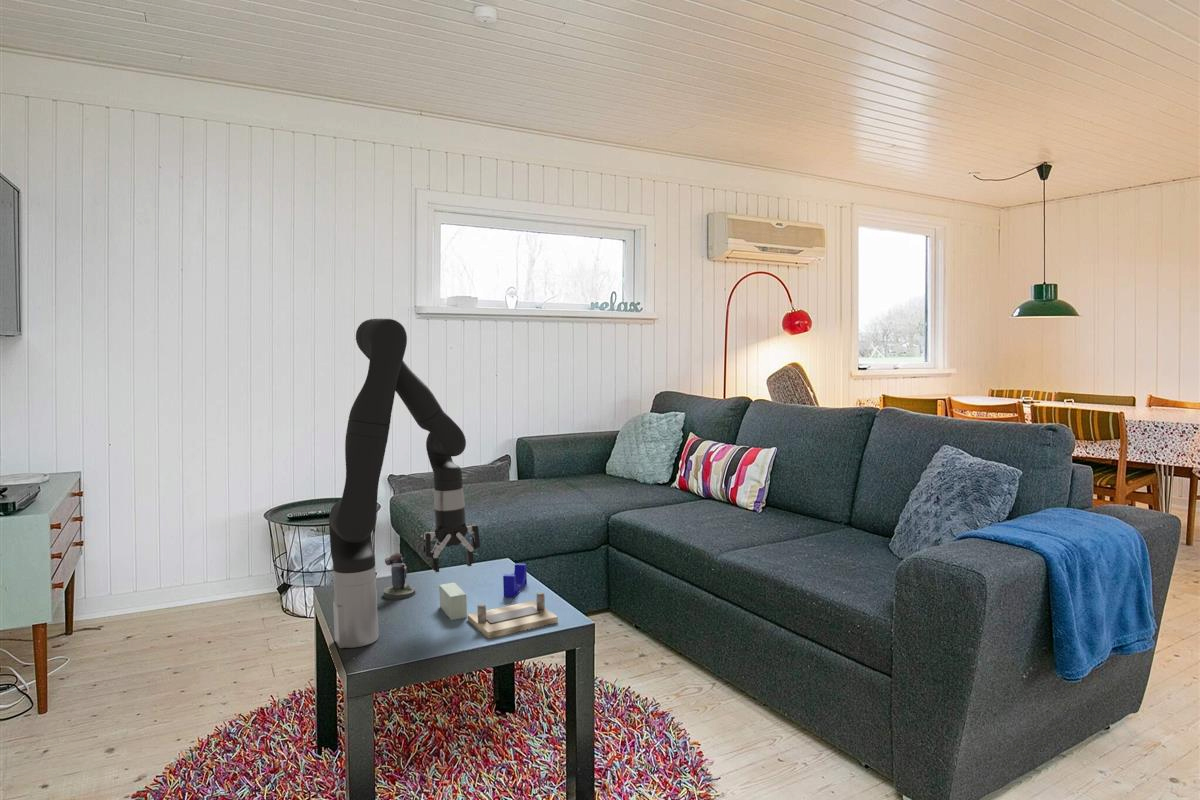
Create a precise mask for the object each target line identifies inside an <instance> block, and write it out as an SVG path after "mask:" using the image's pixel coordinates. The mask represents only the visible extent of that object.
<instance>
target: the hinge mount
mask: <svg viewBox="0 0 1200 800" xmlns="http://www.w3.org/2000/svg"><path fill="white" fill-rule="evenodd" d="M535 594H536V595H535V596H536V601H535V600H530V601H525V602H521V603H516V604H511V605H506V606H502V607H496V608H492V609H487V605H486V604H483V603H481V604H478V605H477V606H476V607H477V612H472V613H468V614H467V622H469V623H470V624H471V625H472V626H473V627H475V628H476V629H477V631H479V632H480V633H481V634H482V635H484V637H486V638H487V639H492V638H498V637H502V636H506V635H511V634H515V633H519V631H520V632H524V631H528V630H532V629H531V628H533V629H535V628H534V627H537V628H540V627H539V626H541V627H545V626H544V625H546V626H549V625H548V624H550V625H553V624H554V623H555V624H558V623H559V617H558V616H557V615H556V614H554V613H553V612H552V611H550V610H548V609H547V608H546V606H545V604H546V603H545V601H546V600H545V598H546V597H545V596H546V595H545V592H537V593H535ZM527 629H528V630H527ZM523 630H524V631H523Z"/></svg>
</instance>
